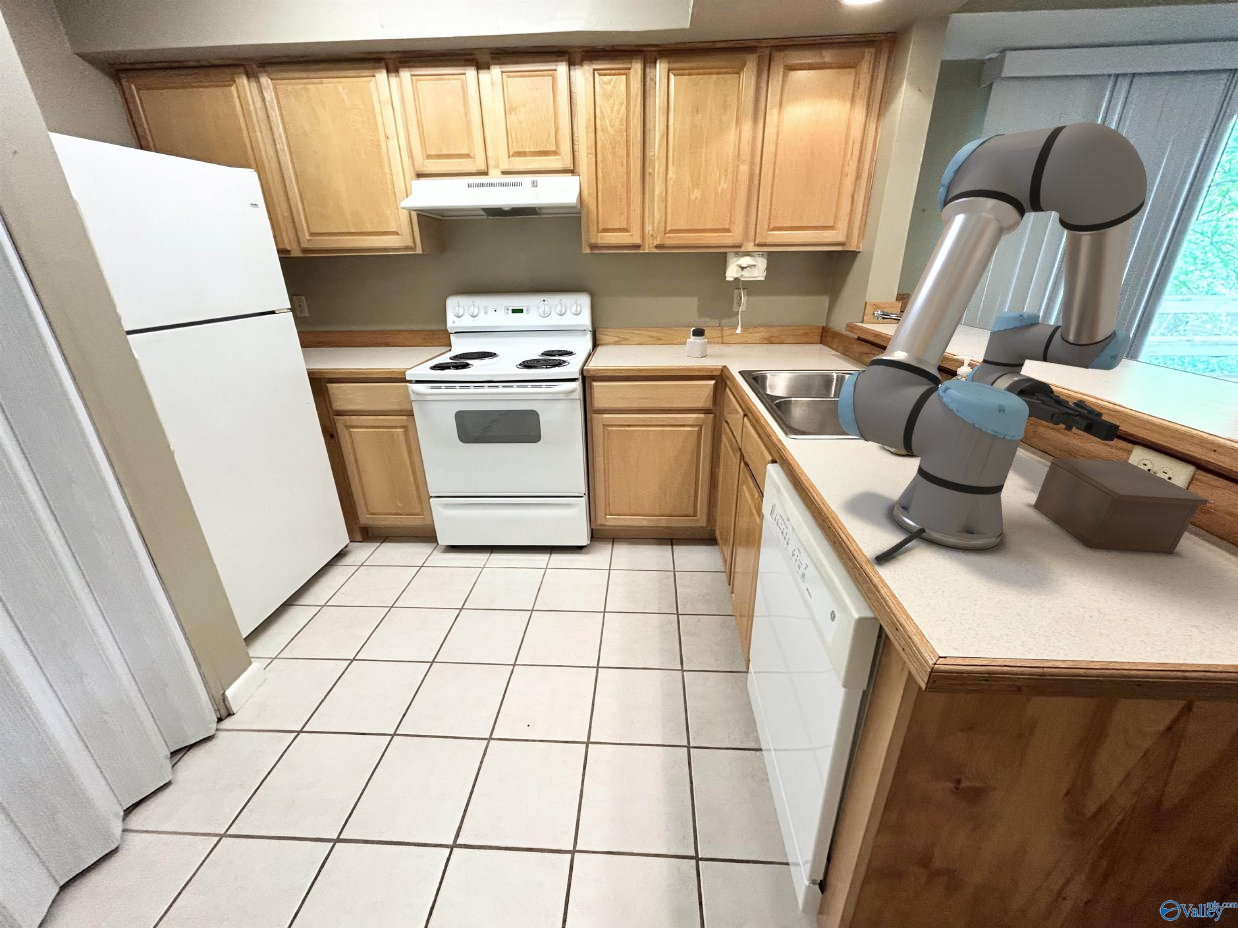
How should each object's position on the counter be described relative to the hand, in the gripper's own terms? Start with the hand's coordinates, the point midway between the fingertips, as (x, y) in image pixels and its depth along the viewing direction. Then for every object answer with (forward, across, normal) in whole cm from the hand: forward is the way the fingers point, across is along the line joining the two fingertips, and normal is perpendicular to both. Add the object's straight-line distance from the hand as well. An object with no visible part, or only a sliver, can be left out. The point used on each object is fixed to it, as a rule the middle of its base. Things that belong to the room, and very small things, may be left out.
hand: (1111, 433), depth 80 cm
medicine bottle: (-135, +65, -15) cm, 150 cm away
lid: (+5, 0, -6) cm, 8 cm away
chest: (+5, 0, -15) cm, 16 cm away
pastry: (-28, +18, -15) cm, 37 cm away
